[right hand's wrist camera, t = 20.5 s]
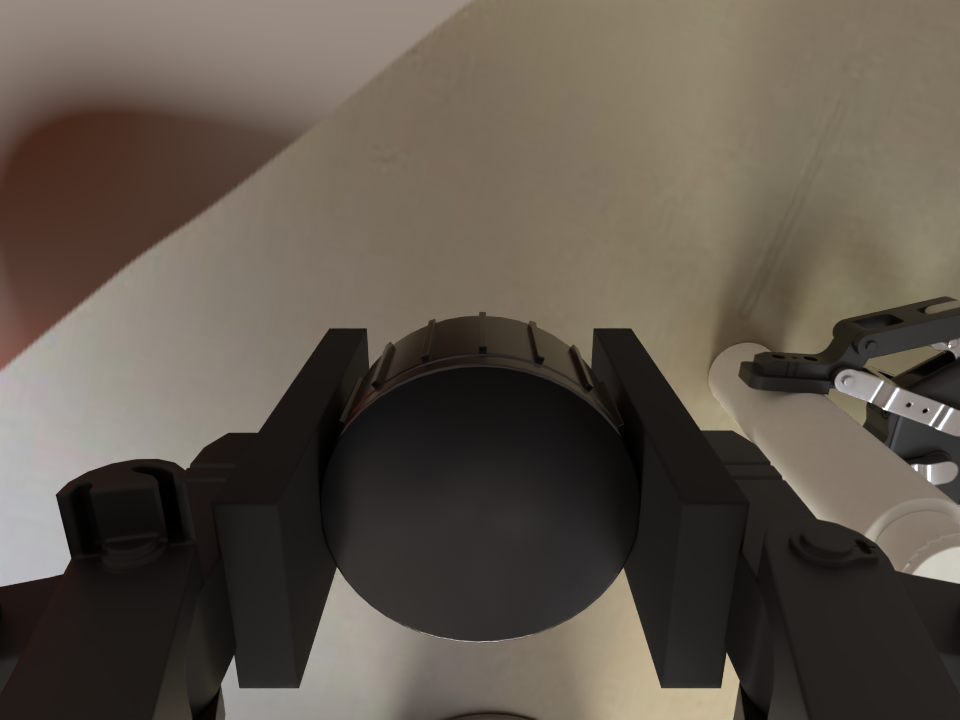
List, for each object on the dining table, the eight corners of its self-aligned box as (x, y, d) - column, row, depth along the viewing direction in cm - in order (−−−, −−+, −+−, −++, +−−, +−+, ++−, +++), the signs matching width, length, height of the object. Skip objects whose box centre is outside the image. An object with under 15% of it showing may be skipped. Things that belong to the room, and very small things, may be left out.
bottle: (751, 328, 40) (981, 509, 22) (791, 377, 41) (1042, 589, 23) (694, 372, 41) (867, 583, 22) (734, 419, 42) (930, 656, 23)
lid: (524, 593, 13) (533, 690, 11) (298, 481, 12) (258, 562, 10) (671, 399, 12) (715, 466, 10) (427, 256, 11) (413, 293, 9)
